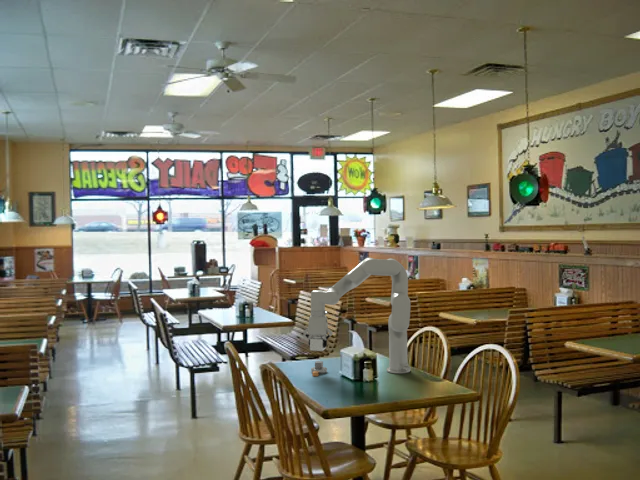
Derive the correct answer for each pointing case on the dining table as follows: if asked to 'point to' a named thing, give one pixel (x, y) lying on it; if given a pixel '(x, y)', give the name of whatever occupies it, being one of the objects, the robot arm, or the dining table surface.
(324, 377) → the dining table surface
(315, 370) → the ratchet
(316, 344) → the socket
